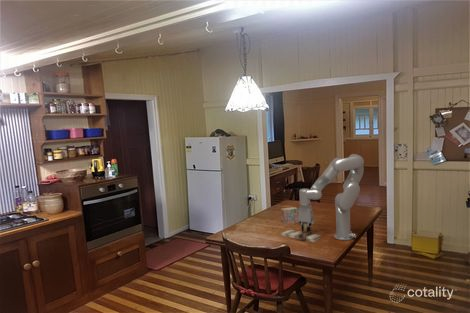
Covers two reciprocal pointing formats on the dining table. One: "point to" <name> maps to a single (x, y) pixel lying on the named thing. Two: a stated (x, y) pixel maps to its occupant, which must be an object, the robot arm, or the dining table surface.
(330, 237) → the dining table surface
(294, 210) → the stack of blocks
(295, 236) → the birch board
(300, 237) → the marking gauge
